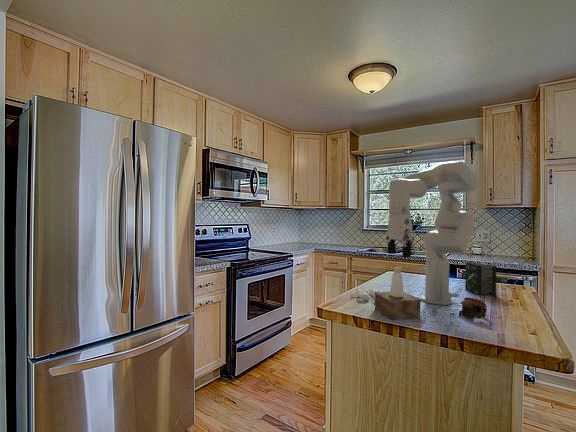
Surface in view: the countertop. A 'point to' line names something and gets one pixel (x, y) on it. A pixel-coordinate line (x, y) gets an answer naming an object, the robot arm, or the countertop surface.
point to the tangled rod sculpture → (365, 293)
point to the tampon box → (480, 278)
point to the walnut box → (397, 306)
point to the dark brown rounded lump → (473, 308)
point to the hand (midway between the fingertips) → (398, 255)
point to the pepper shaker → (397, 283)
